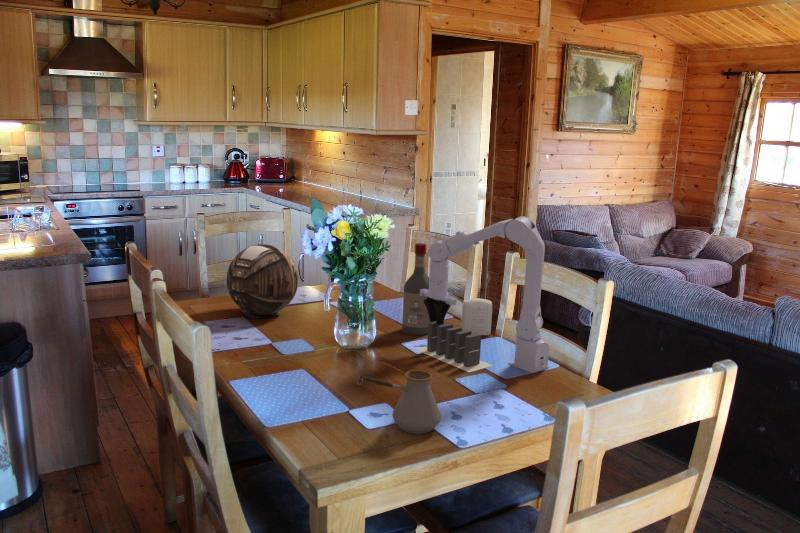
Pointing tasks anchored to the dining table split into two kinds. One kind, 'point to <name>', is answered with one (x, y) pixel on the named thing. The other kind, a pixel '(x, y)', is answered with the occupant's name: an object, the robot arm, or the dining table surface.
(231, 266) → the sphere
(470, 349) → the domino
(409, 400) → the coffee pot
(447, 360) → the domino board
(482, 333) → the cream rounded block
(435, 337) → the domino
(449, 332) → the domino
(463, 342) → the domino
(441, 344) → the domino
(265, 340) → the dining table surface
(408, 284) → the liquor
